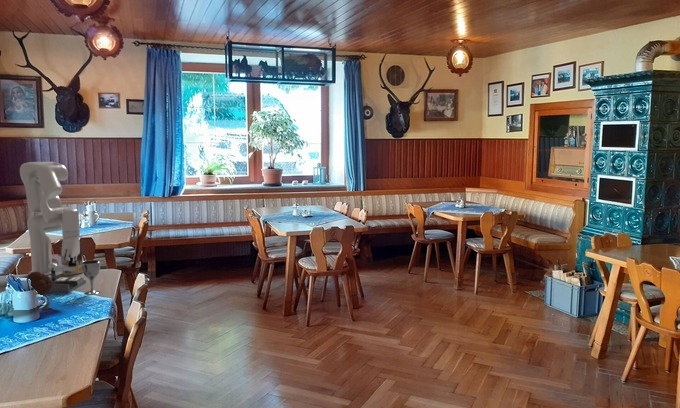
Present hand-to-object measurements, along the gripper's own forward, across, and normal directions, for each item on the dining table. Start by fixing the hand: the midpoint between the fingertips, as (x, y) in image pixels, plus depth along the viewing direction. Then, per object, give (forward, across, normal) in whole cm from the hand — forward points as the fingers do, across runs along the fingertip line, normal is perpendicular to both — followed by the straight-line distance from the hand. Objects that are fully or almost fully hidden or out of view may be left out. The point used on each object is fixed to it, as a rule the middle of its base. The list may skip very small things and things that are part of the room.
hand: (72, 270), depth 258 cm
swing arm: (0, +3, -2) cm, 4 cm away
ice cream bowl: (+8, +31, -1) cm, 32 cm away
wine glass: (+8, +13, +14) cm, 21 cm away
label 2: (+4, +1, +1) cm, 5 cm away
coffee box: (+8, -24, -10) cm, 27 cm away
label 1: (+4, +1, -5) cm, 7 cm away
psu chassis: (+8, +4, -4) cm, 10 cm away
